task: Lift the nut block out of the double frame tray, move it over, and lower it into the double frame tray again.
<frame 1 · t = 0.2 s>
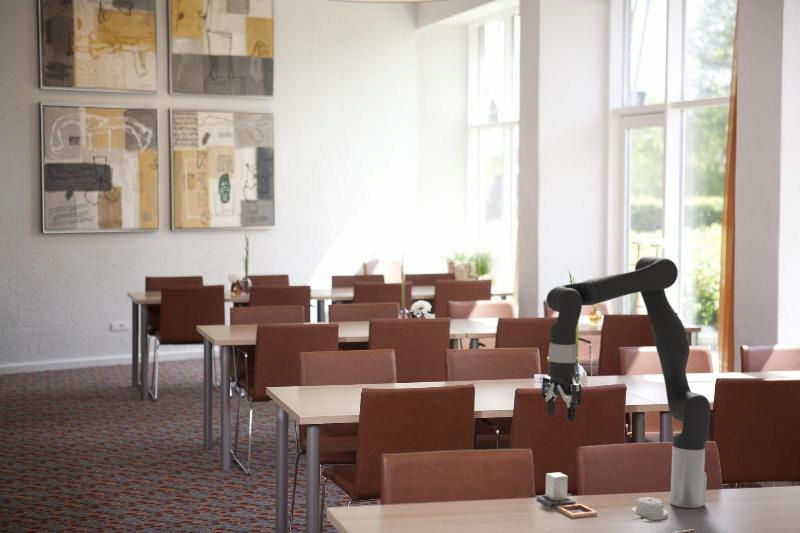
hand: (560, 417, 283), 28 cm above the table, tool pointing down, fingers open, 8 cm apart
double frame tray: (566, 511, 291), on the table
pencil: (510, 514, 288), on the table
mechanical component: (649, 516, 290), on the table
nut block: (555, 501, 296), point 1 cm above the table, touching double frame tray
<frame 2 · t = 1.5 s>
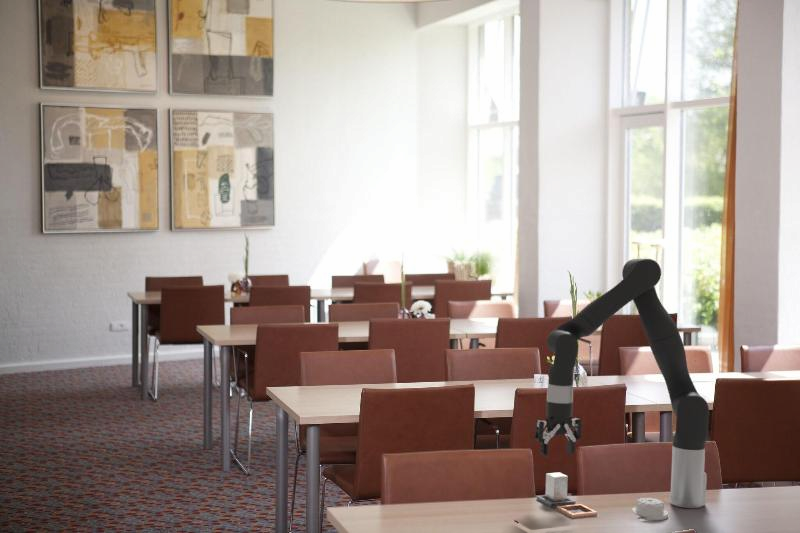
hand: (557, 455, 296), 15 cm above the table, tool pointing down, fingers open, 8 cm apart
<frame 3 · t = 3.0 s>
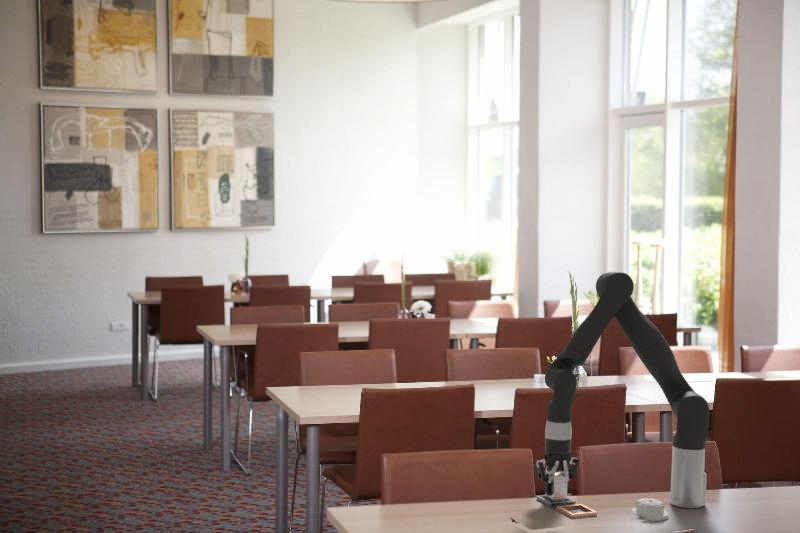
hand: (556, 494, 296), 3 cm above the table, tool pointing down, fingers closed on nut block, 4 cm apart
nut block: (555, 501, 296), point 1 cm above the table, touching gripper, double frame tray
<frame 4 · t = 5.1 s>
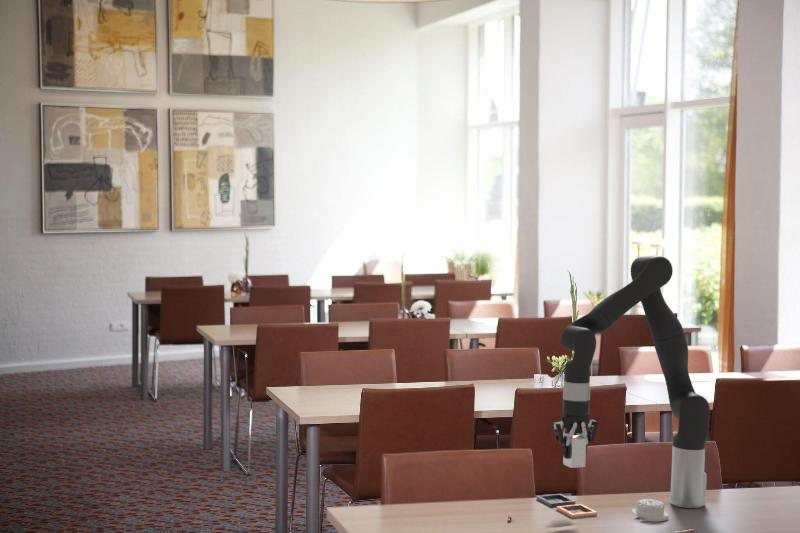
hand: (574, 457, 288), 16 cm above the table, tool pointing down, fingers closed on nut block, 4 cm apart
nut block: (574, 465, 288), point 14 cm above the table, touching gripper
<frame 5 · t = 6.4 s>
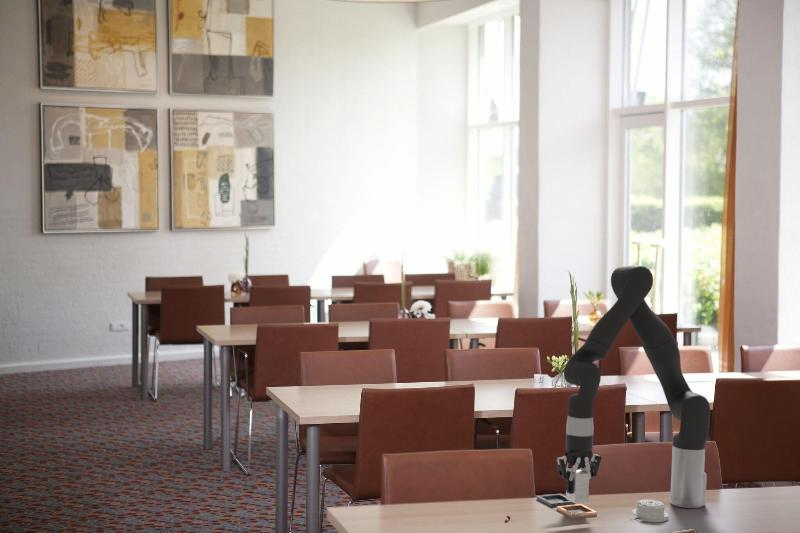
hand: (577, 492, 286), 7 cm above the table, tool pointing down, fingers closed on nut block, 4 cm apart
nut block: (577, 500, 286), point 5 cm above the table, touching gripper
when the fingers open (3 cm above the table, at t = 7.4 s): nut block stays where it is, resting on double frame tray.
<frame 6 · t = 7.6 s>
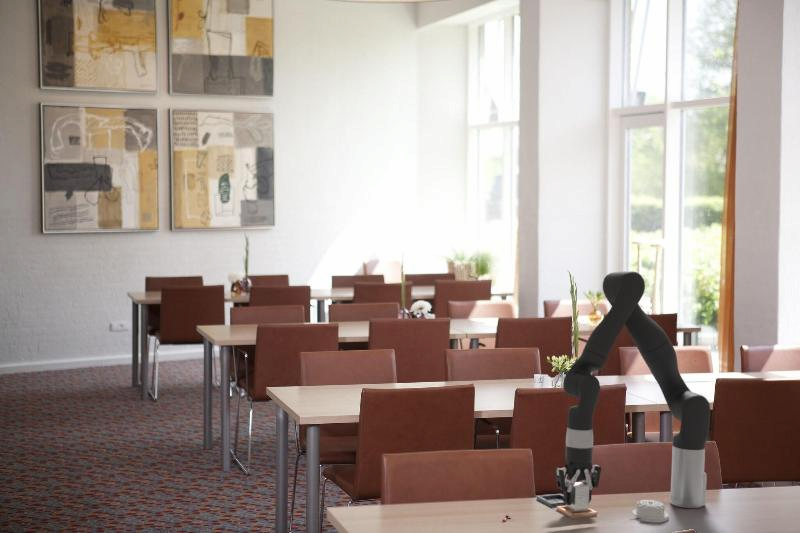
hand: (577, 503, 286), 4 cm above the table, tool pointing down, fingers open, 5 cm apart
nut block: (577, 512, 286), point 1 cm above the table, touching double frame tray
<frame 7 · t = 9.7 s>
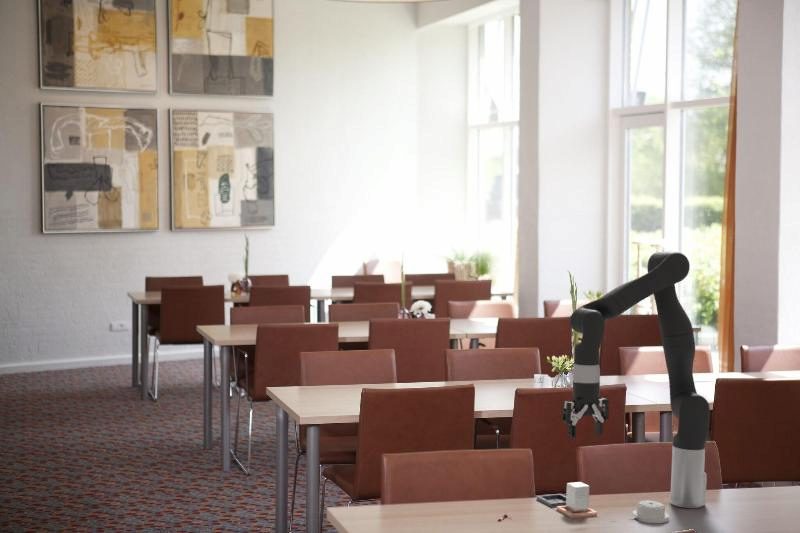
hand: (585, 436, 288), 22 cm above the table, tool pointing down, fingers open, 8 cm apart
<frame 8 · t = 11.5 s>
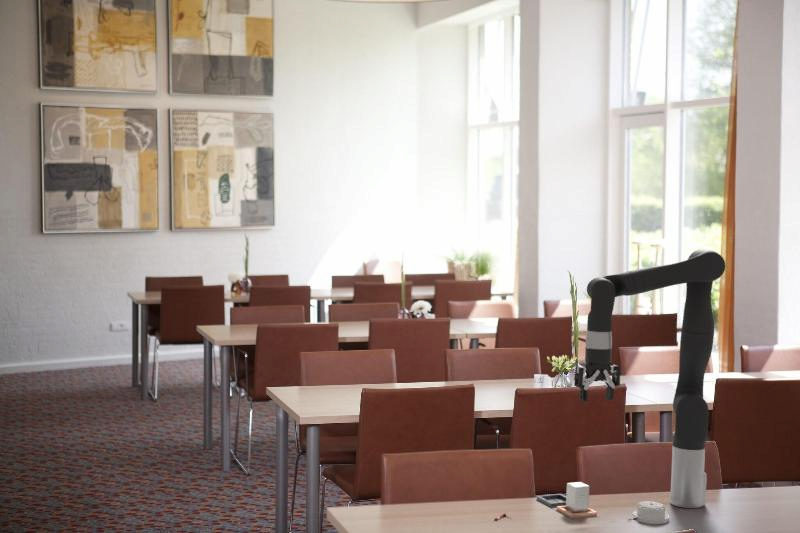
hand: (596, 401, 298), 30 cm above the table, tool pointing down, fingers open, 8 cm apart
at the end: nut block 0.1 cm from the target spot on the double frame tray, point 1.0 cm above the double frame tray's base; nut block tilted 0°; the gripper is holding nothing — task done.
